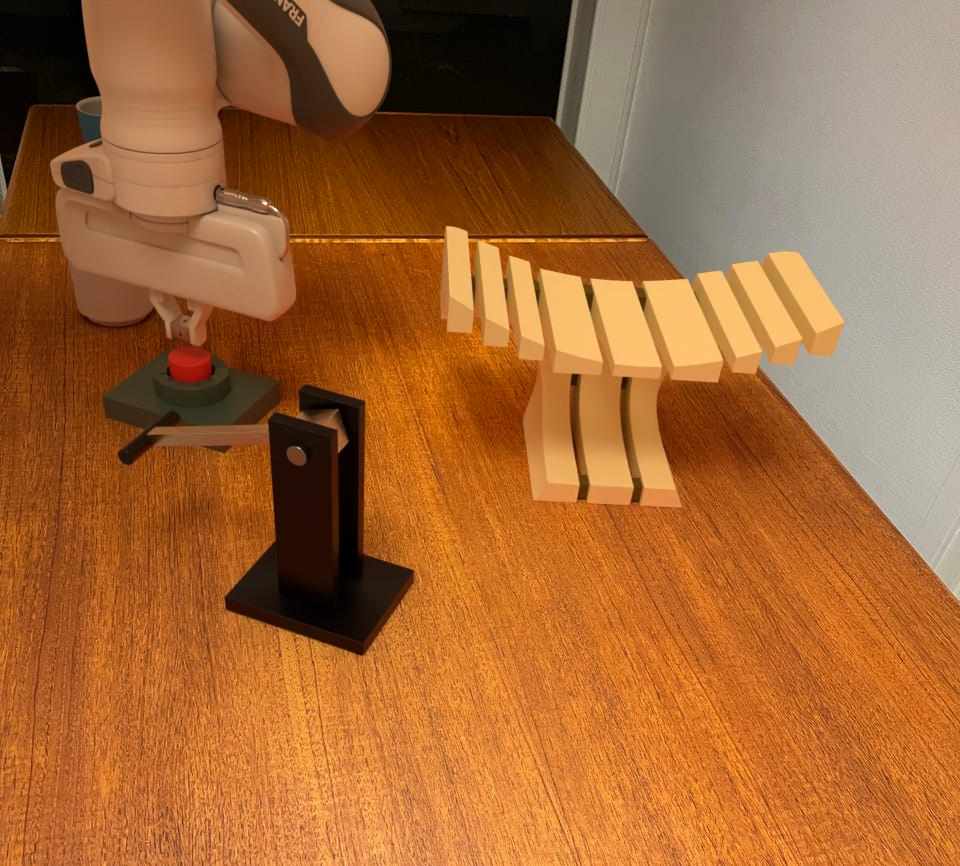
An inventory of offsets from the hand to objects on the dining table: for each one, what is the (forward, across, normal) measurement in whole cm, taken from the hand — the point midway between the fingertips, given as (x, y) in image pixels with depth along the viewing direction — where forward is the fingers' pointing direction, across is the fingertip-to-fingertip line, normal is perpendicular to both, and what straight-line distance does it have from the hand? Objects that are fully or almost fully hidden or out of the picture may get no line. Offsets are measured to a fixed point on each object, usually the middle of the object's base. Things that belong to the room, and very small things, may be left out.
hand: (187, 340), depth 87 cm
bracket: (+7, -22, +18) cm, 29 cm away
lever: (-4, -16, +18) cm, 24 cm away
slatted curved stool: (+7, -35, -11) cm, 38 cm away
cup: (+7, +25, -26) cm, 37 cm away
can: (+7, +17, -12) cm, 22 cm away
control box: (+7, 0, 0) cm, 7 cm away
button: (+3, 0, 0) cm, 3 cm away
